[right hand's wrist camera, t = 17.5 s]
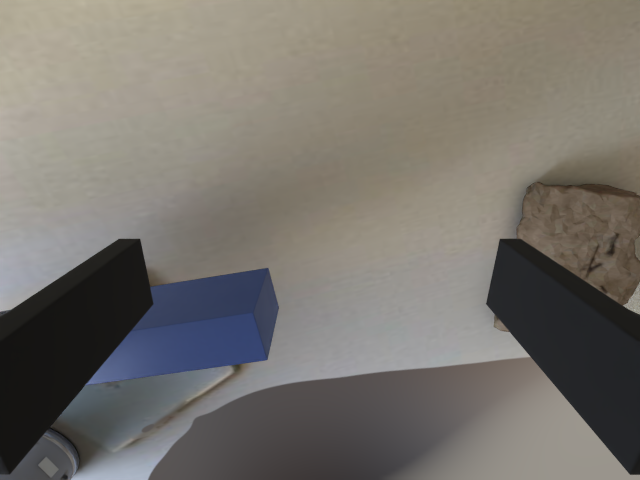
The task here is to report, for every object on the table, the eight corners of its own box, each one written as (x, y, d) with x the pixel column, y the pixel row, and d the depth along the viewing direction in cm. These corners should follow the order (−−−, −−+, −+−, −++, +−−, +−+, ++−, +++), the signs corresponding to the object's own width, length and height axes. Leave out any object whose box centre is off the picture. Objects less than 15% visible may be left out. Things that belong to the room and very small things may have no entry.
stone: (601, 338, 47) (629, 361, 42) (488, 322, 50) (499, 341, 45) (639, 186, 43) (677, 189, 37) (512, 179, 46) (529, 180, 40)
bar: (268, 267, 38) (253, 312, 30) (279, 307, 40) (267, 360, 32) (25, 306, 40) (-52, 358, 32) (46, 342, 42) (-21, 400, 34)
